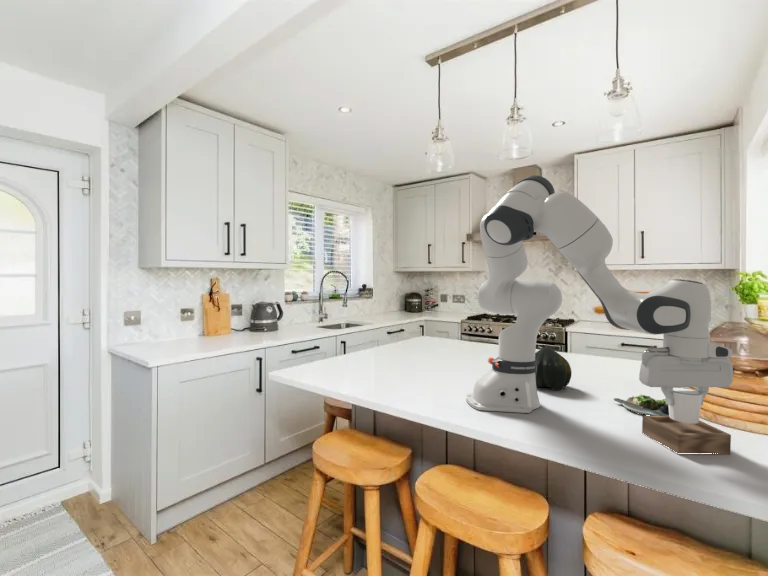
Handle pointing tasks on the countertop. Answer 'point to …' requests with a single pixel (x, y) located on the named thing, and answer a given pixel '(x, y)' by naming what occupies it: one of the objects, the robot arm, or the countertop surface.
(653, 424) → the walnut stand
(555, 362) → the squash
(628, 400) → the salad plate
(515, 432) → the countertop surface
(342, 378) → the countertop surface
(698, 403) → the shot glass
